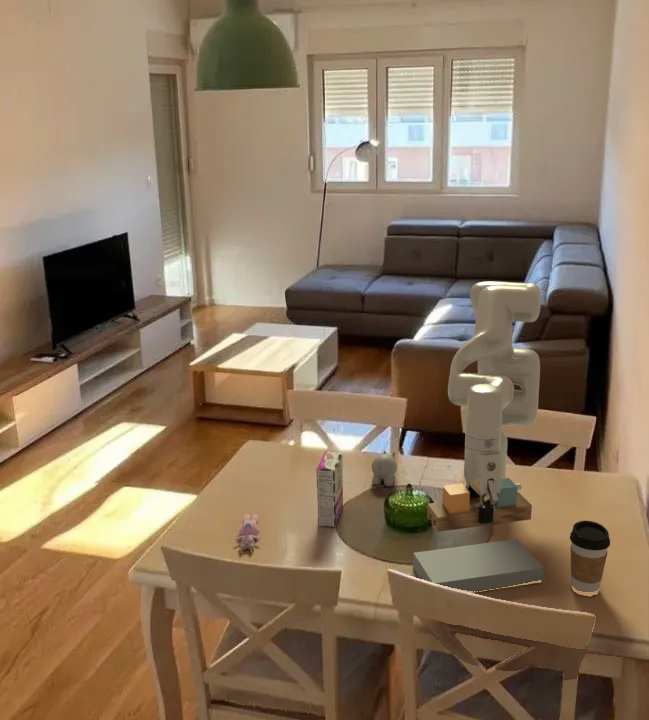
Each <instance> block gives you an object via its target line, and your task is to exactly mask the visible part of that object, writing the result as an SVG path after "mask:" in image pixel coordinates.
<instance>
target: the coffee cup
mask: <svg viewBox="0 0 649 720" xmlns="http://www.w3.org/2000/svg"><path fill="white" fill-rule="evenodd" d="M569 535H570V536H569V540H570V542H571V544H570V586H571V585H572V586H573V587H574V588H575V589H576V590H578V591H582V592H594V591H597V590H598V589H599V588H600V589H601V584H602V578H603V574H604V570H605V566H606V562H607V556H608V548H609V547H610V545H611V538H610V535H609V531H608V529H607V528H606V527H605V526H604V525H602V524H601V523H599V522H596V521H591V520H580V521H577V522H575V523H574V524H573V526H572V531H571V532H570V534H569ZM600 589H599V590H600Z"/></svg>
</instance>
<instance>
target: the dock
mask: <svg viewBox="0 0 649 720" xmlns="http://www.w3.org/2000/svg"><path fill="white" fill-rule="evenodd" d="M412 555H413V557H412V560H413V561H412V568H413V570H414V572H415V574H416V575H417V577H418V578H419V579H420V578H421V579H424V580H427V581H430V582H433V583H436V584H440V585H443V586H448V587H451V588H457V589H461V590H467V591H473V592H474V591H476V592H477V591H478V592H479V591H483V590H489V589H496V588H502V587H508V586H513V585H518V584H523V583H528V582H532V581H538V580H542V581H543V575H544V567H543V566H542V564H541V563H540V562H539V561H538V560H537V559H536V558H535V557H534V556H533V555H532V554H531V552H529V550H528V548H526V547H525V546H524V545H523V543H521V542H520V540H519V539H518V538H513V539H512V538H511V539H506V540H505V539H504V540H498V541H497V540H496V541H491V542H484V543H476V544H469V545H462V546H454V547H446V548H438V549H433V550H423V551H416V552H413V554H412ZM474 594H476V593H475V592H474Z"/></svg>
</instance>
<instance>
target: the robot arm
mask: <svg viewBox="0 0 649 720" xmlns="http://www.w3.org/2000/svg"><path fill="white" fill-rule="evenodd" d="M470 303H471V307H472V310H473V312H474V315H475V316H474V317H475V326H474V334H473V337H472V338H470V339H468V340H467V341H466V342H465V343H464V344H462V346H460V348H459V349H458V350H457V351H456V353H455V354H454V356H453V358H452V361H451V364H450V370H449V376H448V377H449V378H448V385H447V394H448V395H447V396H448V399H449V401H450V402H451V403H452V404H453V405H455V406H458V407H459V406H460V407H466V415H465V416H466V418H465V439H464V440H465V441H464V448H465V455H464V456H465V457H464V465H463V474H464V475H463V477H464V479H465V482H466V484H465V488H466V489H467V490H468V491H469V492H470V498H478V497H480V502H481V507H479V519H478V522H479V523H480V524H485V523H492V522H493V512H494V507H495V504H496V502H497V501H498V496H497V494H500V491H501V479H504V478H506V472H507V459H508V458H507V457H508V456H507V455H508V438H507V435H506V433H505V430H503V427H502V426H511V427H512V426H513V427H521V428H522V427H523V428H525V427H526V428H527V427H531V426H533V425H534V424H536V421H537V418H538V411H539V392H540V378H541V376H540V375H541V364H540V363H541V361H540V356H539V354H538V353H537V352H536V351H535V350H533V349H529V348H519V347H518V348H515V347H513V332H514V331H513V327H512V326H513V322H519V323H520V322H522V323H534V322H536V321H537V320H538V318H539V316H540V312H541V308H542V307H541V306H542V294H541V289H540V287H539V285H537V284H536V283H532V282H531V283H529V282H515V281H514V282H512V281H511V282H509V281H493V280H492V281H491V280H489V281H481V282H476V283H474V284H473V285H472V287H471V288H470ZM475 362H477V373H476V372H464V370H465V369H466V368H467V367H468V366H470V365H471V364H472V363H475ZM514 385H516V386H519V387H520V388H521V389H515V386H514ZM514 484H515V485H516V486H517V487H518V489H517V491H521V490H522V484H521V482H516V483H515V482H514ZM485 496H489V497H490V498H489V500H486V501H485V499H484V497H485Z"/></svg>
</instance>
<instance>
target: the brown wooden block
mask: <svg viewBox="0 0 649 720" xmlns="http://www.w3.org/2000/svg"><path fill="white" fill-rule="evenodd" d="M484 499H485V501H486V500H489V496H485V497H484ZM479 507H481V502H480V497H478V498H470V500H469V511H466V512H459V513H451V514H449V512H448V511H447V510H446V508H445V507H444V506H443V504H442V501H438V502H431V503H427V515H426V516H427V519H428V520H429V521H431V525H432V526H433V527H435V530H436V532H437V533H440V532H446V531H455V530H463V529H469V528H477V527H484V526H491V525H492V526H493V525H501V524H506V523H507V524H508V523H515V522H523V521H530V520H532V511H533V510H532V507H533V505H532V504H531V503H530V502H529V501H528V500H527V499H526V498H525V497H524V496H523V495H522V494H521V493H520V492H519V491H517V504H516V505H513V506H506V507H497V506H496V505H495V507H494V512H493V522H492V523H485V524H480V523H479V522H478V519H479Z"/></svg>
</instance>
